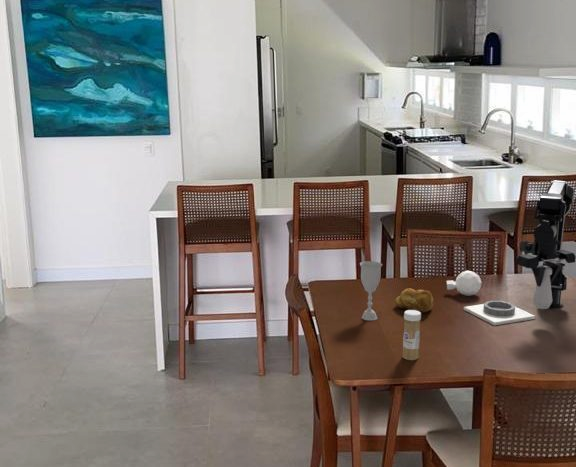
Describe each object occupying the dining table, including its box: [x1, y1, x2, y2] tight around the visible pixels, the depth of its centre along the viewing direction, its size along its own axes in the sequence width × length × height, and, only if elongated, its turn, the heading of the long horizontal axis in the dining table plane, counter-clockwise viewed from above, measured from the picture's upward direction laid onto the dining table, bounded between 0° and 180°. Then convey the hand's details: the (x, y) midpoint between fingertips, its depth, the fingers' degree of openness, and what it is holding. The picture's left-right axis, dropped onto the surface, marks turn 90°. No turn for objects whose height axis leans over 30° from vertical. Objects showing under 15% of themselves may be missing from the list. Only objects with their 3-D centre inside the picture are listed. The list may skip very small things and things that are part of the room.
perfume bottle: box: [446, 270, 482, 297], centre depth 256 cm, size 9×9×12 cm
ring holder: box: [463, 300, 536, 326], centre depth 236 cm, size 16×16×3 cm
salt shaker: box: [532, 266, 552, 310], centre depth 224 cm, size 6×6×13 cm
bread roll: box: [394, 287, 434, 314], centre depth 241 cm, size 13×10×8 cm
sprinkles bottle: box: [402, 309, 422, 361], centre depth 200 cm, size 5×5×13 cm
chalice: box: [359, 260, 383, 321], centre depth 231 cm, size 7×7×18 cm
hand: (543, 285), depth 224 cm, fingers closed on salt shaker, 4 cm apart
